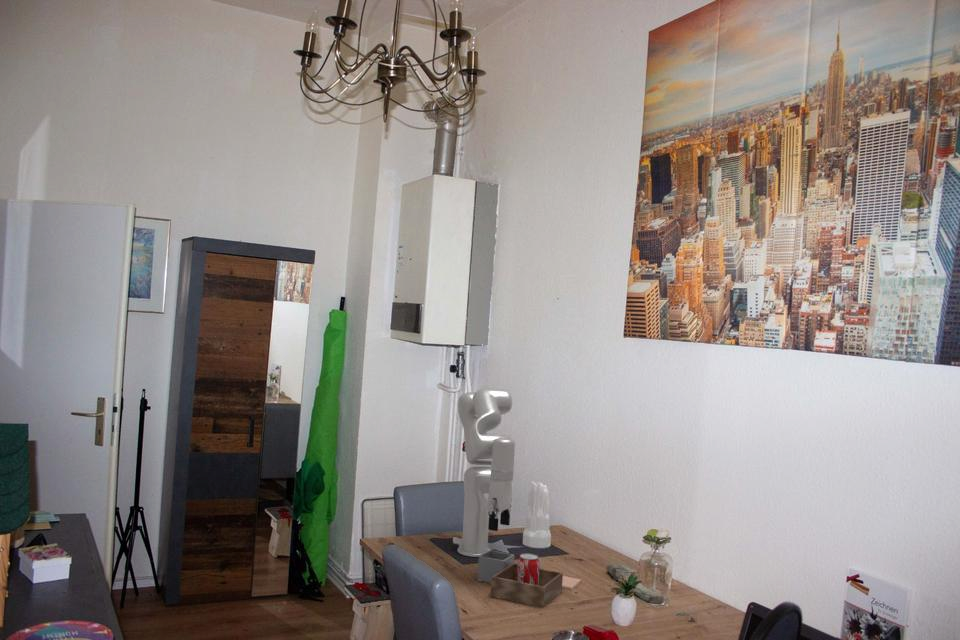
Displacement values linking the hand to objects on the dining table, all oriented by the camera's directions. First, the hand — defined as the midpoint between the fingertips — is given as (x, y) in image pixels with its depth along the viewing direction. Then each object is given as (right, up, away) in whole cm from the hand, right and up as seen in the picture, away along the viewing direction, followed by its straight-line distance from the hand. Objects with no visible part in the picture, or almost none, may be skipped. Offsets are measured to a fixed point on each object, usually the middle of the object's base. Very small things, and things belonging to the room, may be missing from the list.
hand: (498, 527), depth 266 cm
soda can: (+8, -18, -12) cm, 23 cm away
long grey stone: (+45, -21, +3) cm, 50 cm away
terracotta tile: (+21, -19, +1) cm, 28 cm away
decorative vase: (+16, -19, +47) cm, 53 cm away
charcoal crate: (-1, -17, 0) cm, 17 cm away
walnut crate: (+9, -18, -12) cm, 23 cm away
